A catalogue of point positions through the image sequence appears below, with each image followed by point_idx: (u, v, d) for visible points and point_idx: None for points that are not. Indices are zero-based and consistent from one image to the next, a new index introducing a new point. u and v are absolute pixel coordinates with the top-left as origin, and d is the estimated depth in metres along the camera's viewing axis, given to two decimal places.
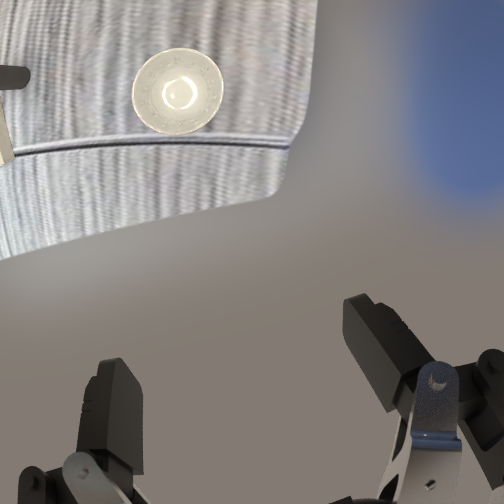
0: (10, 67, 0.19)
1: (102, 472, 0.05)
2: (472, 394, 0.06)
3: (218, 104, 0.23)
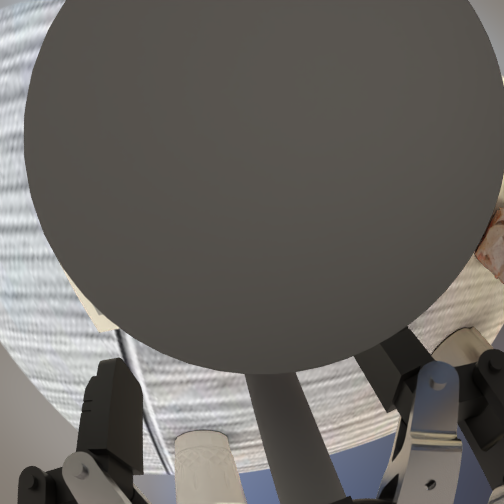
0: None
1: (102, 472, 0.05)
2: (472, 394, 0.06)
3: None
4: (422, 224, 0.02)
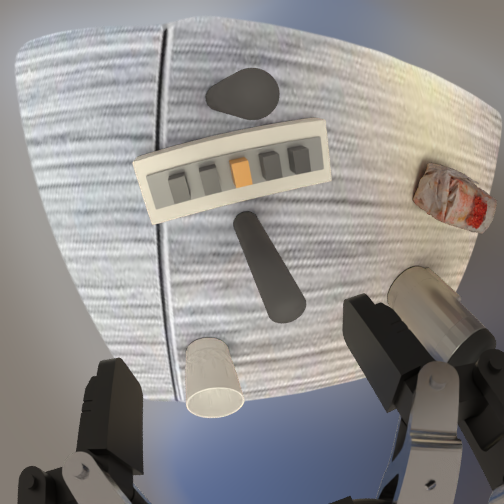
0: None
1: (102, 472, 0.05)
2: (472, 394, 0.06)
3: (207, 417, 0.38)
4: (263, 101, 0.15)
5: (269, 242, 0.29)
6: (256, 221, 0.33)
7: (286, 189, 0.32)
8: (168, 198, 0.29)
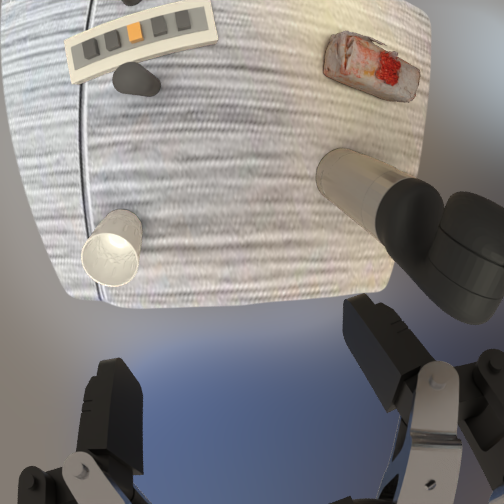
0: (153, 92, 0.31)
1: (102, 472, 0.05)
2: (472, 394, 0.06)
3: (105, 284, 0.36)
4: None
5: None
6: None
7: (176, 47, 0.30)
8: (84, 60, 0.28)
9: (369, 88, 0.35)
